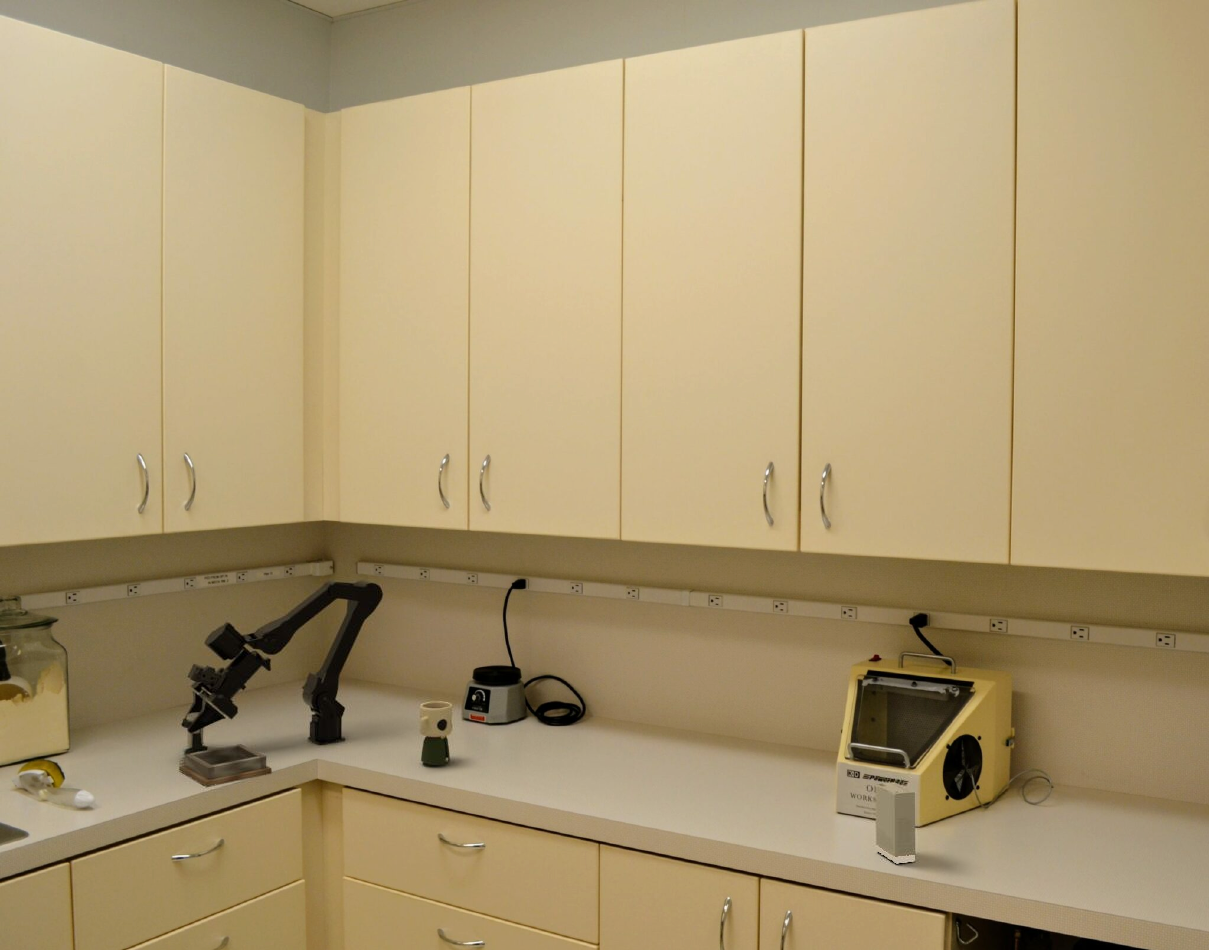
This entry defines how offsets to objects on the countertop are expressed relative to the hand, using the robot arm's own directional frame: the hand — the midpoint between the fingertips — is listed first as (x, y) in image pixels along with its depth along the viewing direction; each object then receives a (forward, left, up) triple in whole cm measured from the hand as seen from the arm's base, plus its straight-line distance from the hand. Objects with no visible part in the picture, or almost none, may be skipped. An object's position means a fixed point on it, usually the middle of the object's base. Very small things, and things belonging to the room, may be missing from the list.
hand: (185, 729), depth 225 cm
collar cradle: (-3, +13, -7) cm, 15 cm away
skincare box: (-69, +133, -7) cm, 150 cm away
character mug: (-40, +37, -7) cm, 55 cm away
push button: (-1, 0, -7) cm, 7 cm away
